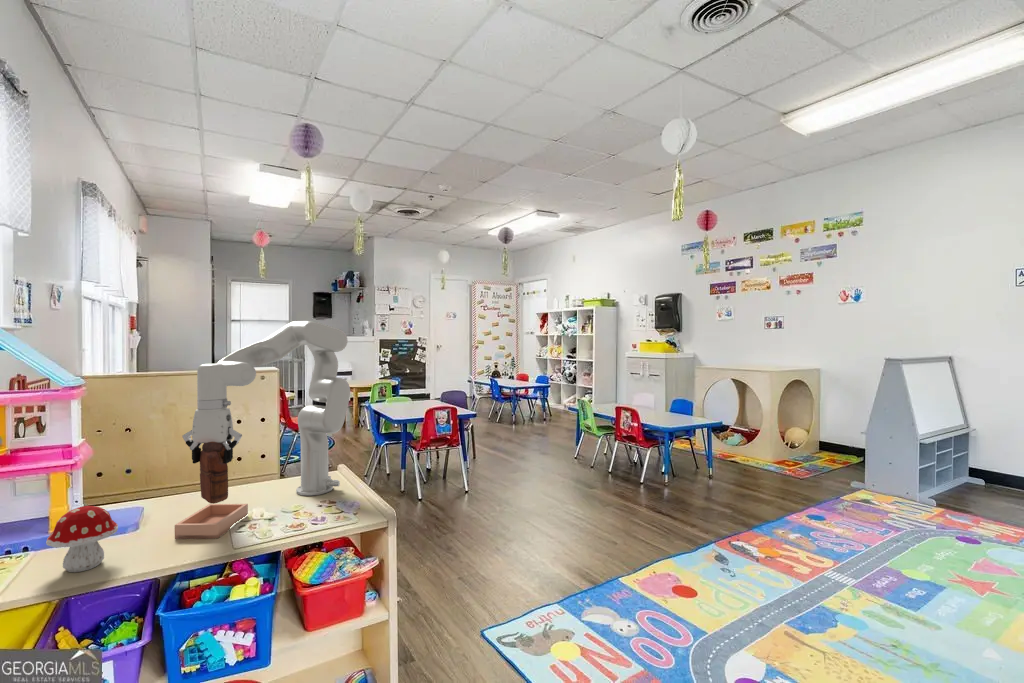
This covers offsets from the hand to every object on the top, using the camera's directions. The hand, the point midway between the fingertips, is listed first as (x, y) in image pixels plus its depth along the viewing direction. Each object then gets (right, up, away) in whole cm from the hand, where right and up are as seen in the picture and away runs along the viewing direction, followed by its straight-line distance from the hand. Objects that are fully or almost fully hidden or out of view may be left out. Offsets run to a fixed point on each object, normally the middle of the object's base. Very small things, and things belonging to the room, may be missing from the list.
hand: (212, 462), depth 148 cm
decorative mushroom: (-17, -20, -25) cm, 36 cm away
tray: (0, -20, 0) cm, 20 cm away
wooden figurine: (0, -11, +1) cm, 11 cm away
